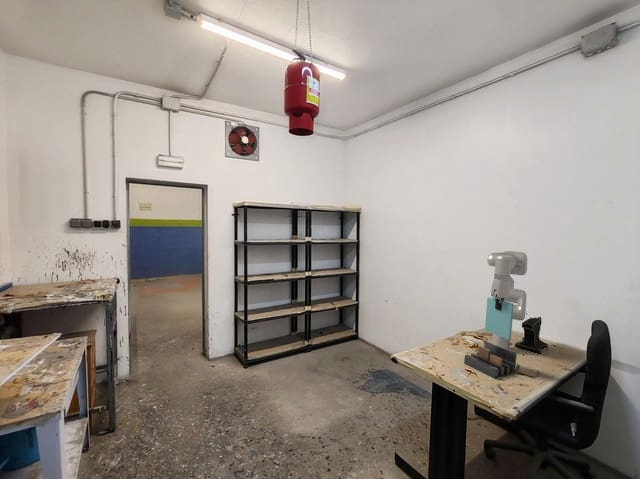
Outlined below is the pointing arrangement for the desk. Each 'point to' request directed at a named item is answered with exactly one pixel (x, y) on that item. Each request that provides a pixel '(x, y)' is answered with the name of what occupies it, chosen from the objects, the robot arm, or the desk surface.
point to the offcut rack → (491, 367)
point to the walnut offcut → (484, 353)
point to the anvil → (531, 336)
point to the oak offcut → (496, 360)
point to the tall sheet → (499, 318)
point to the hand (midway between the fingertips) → (499, 309)
